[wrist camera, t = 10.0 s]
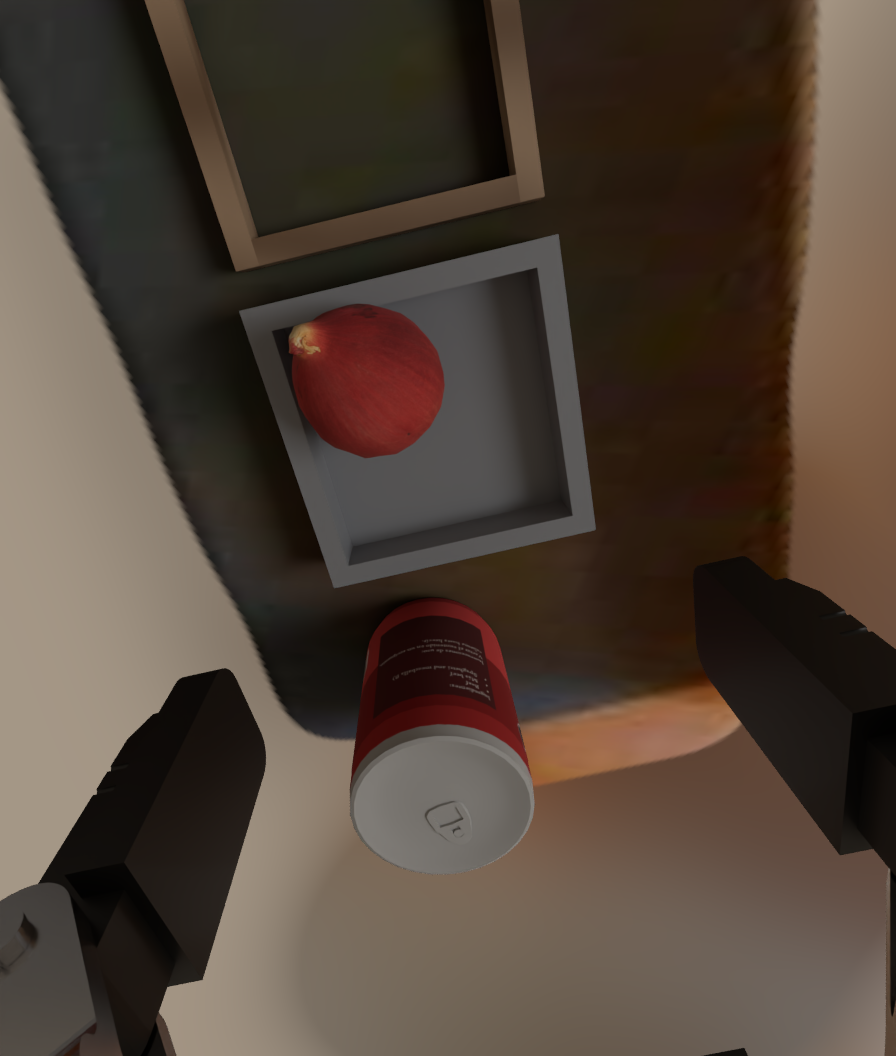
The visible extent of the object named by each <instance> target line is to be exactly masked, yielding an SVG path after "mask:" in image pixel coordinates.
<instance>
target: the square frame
mask: <svg viewBox="0 0 896 1056" xmlns="http://www.w3.org/2000/svg"><path fill="white" fill-rule="evenodd" d="M483 2H484V9H485V15H486V22H487V29H488V35H489V42H490V48H491V55H492V62H493V68H494V75H495V81H496V88H497V95H498V101H499V108H500V114H501V121H502V128H503V134H504V141H505V147H506V154H507V161H508V167H509V174H510V176H508V177H504V178H499V179H495V180H491V181H487V182H483V183H479V184H475V185H471V186H467V187H463V188H459V189H455V190H450V191H446V192H442V193H438V194H434V195H430V196H426V197H422V198H418V199H414V200H410V201H406V202H402V203H397V204H393V205H389V206H385V207H381V208H377V209H373V210H369V211H365V212H361V213H357V214H353V215H348V216H344V217H340V218H336V219H332V220H328V221H324V222H320V223H316V224H312V225H308V226H304V227H300V228H295V229H291V230H287V231H283V232H279V233H275V234H271V235H267V236H263V237H258V234H257V231H256V228H255V225H254V222H253V218H252V215H251V212H250V209H249V206H248V203H247V199H246V196H245V193H244V190H243V187H242V184H241V180H240V177H239V174H238V171H237V168H236V165H235V161H234V158H233V155H232V152H231V149H230V145H229V142H228V139H227V136H226V133H225V130H224V126H223V123H222V120H221V117H220V114H219V111H218V107H217V104H216V101H215V98H214V95H213V92H212V88H211V85H210V82H209V79H208V76H207V73H206V69H205V66H204V63H203V60H202V57H201V54H200V50H199V47H198V44H197V41H196V38H195V35H194V31H193V28H192V25H191V22H190V19H189V16H188V12H187V9H186V6H185V3H184V0H145V3H146V6H147V9H148V12H149V15H150V18H151V21H152V24H153V27H154V30H155V33H156V36H157V39H158V41H159V44H160V47H161V50H162V53H163V56H164V59H165V62H166V65H167V68H168V71H169V74H170V77H171V80H172V83H173V86H174V89H175V92H176V95H177V98H178V101H179V104H180V107H181V110H182V113H183V116H184V119H185V122H186V125H187V128H188V131H189V133H190V136H191V139H192V142H193V145H194V148H195V151H196V154H197V157H198V160H199V163H200V166H201V169H202V172H203V175H204V178H205V181H206V184H207V187H208V190H209V193H210V196H211V199H212V202H213V205H214V208H215V211H216V214H217V217H218V220H219V223H220V225H221V228H222V231H223V234H224V237H225V240H226V243H227V246H228V249H229V252H230V255H231V258H232V261H233V264H234V267H235V270H236V272H248V271H253V270H257V269H261V268H265V267H269V266H273V265H277V264H281V263H285V262H290V261H294V260H298V259H302V258H306V257H310V256H314V255H318V254H322V253H327V252H331V251H335V250H339V249H343V248H347V247H351V246H355V245H359V244H364V243H368V242H372V241H376V240H380V239H384V238H388V237H392V236H396V235H401V234H405V233H409V232H413V231H417V230H421V229H425V228H429V227H433V226H438V225H442V224H446V223H450V222H454V221H458V220H462V219H466V218H470V217H475V216H479V215H483V214H487V213H491V212H495V211H499V210H503V209H507V208H512V207H516V206H520V205H524V204H528V203H532V202H536V201H538V200H540V199H542V198H543V197H545V195H544V188H543V180H542V172H541V165H540V157H539V150H538V142H537V135H536V127H535V119H534V112H533V104H532V97H531V89H530V82H529V74H528V66H527V59H526V51H525V44H524V36H523V28H522V21H521V13H520V6H519V0H483Z"/></svg>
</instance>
